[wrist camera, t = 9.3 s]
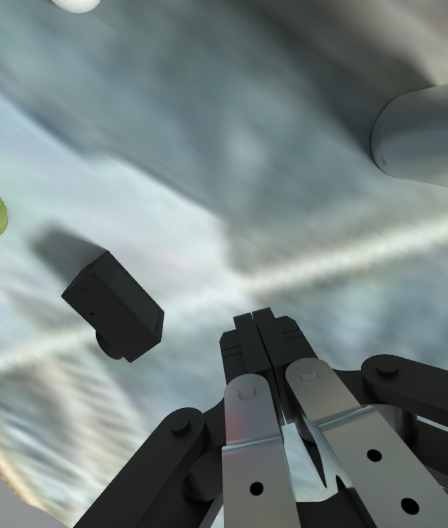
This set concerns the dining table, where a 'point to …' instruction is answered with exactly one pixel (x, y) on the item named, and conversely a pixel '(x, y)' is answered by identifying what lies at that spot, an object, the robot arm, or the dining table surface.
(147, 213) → the dining table surface
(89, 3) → the cue ball
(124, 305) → the digital camera
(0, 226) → the plant pot
